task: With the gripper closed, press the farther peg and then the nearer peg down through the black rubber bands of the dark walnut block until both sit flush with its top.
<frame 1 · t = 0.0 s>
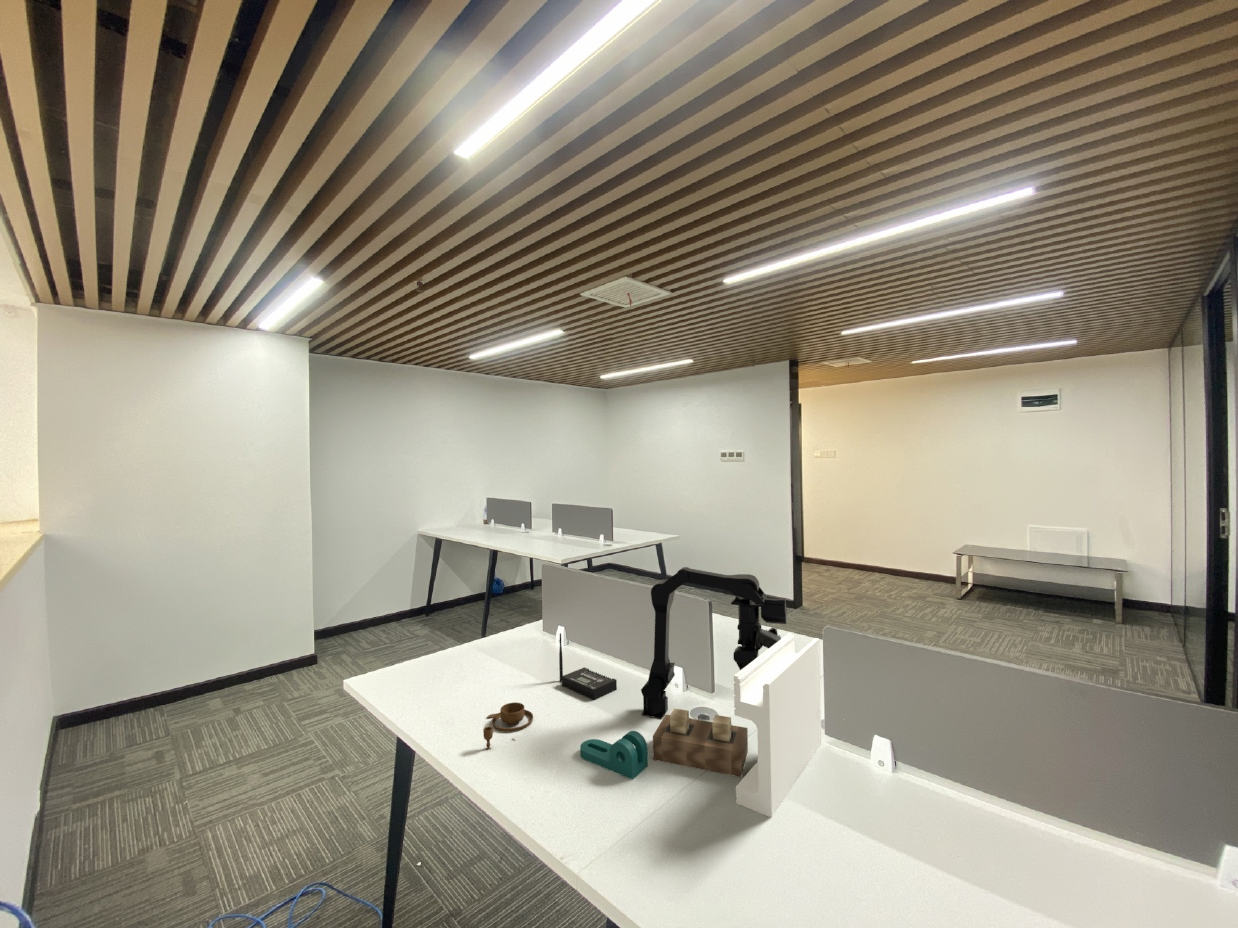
hand: (749, 676, 144), 15 cm above the table, tool pointing down, fingers open, 9 cm apart
wireless controller: (585, 688, 174), on the table
band block: (701, 755, 131), on the table
bracket: (610, 762, 130), on the table
block: (782, 771, 124), on the table
place setting: (501, 730, 147), on the table
peg 2: (722, 730, 129), point 7 cm above the table, slide at 4.0 cm
peg 1: (679, 723, 133), point 7 cm above the table, slide at 4.0 cm
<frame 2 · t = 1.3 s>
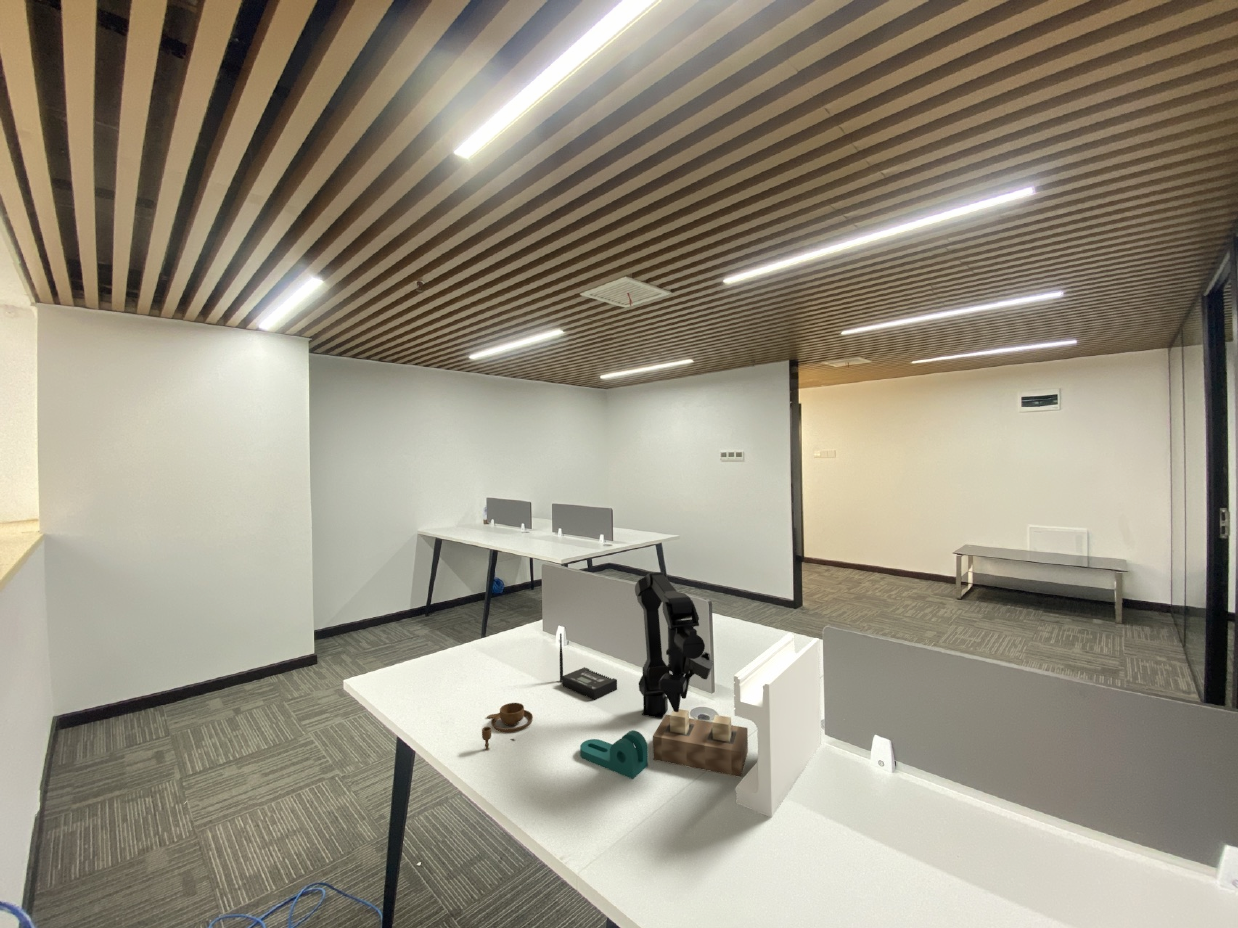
hand: (680, 704, 134), 12 cm above the table, tool pointing down, fingers open, 8 cm apart
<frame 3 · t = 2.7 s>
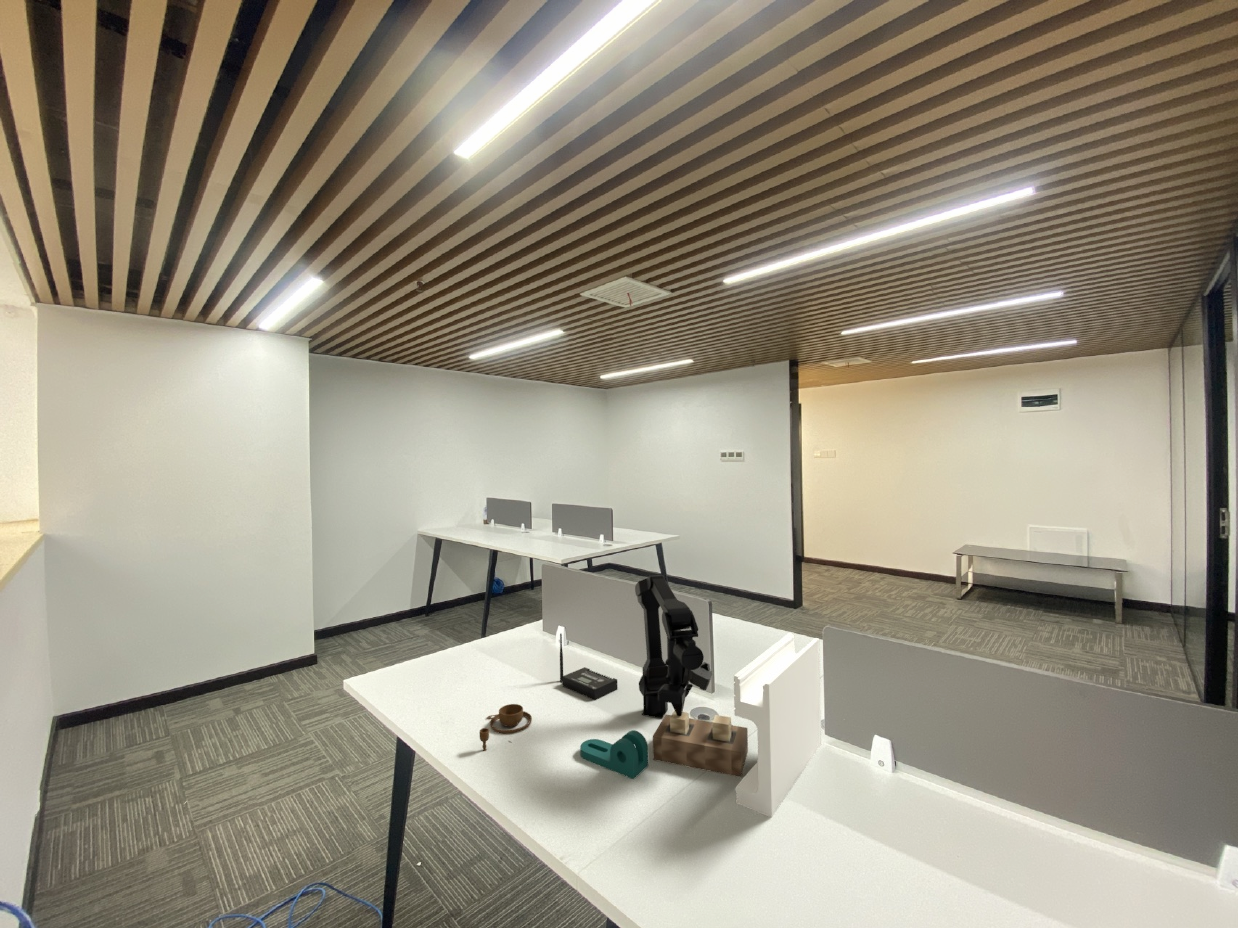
hand: (679, 715, 133), 9 cm above the table, tool pointing down, fingers closed, pressing on peg 1
peg 1: (679, 726, 133), point 7 cm above the table, slide at 3.4 cm, touching gripper
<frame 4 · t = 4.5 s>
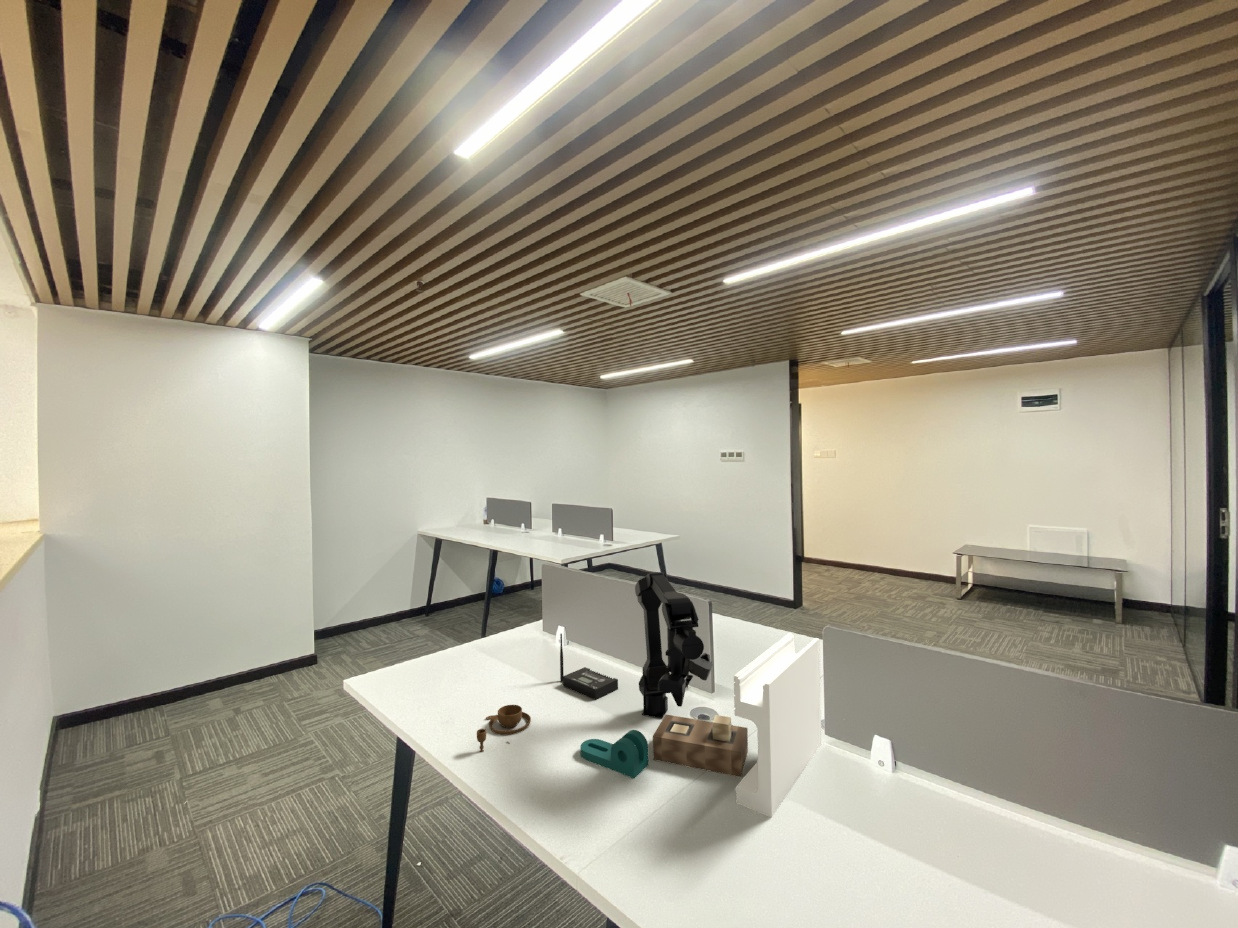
hand: (679, 705, 133), 12 cm above the table, tool pointing down, fingers closed
peg 1: (680, 739, 133), point 3 cm above the table, slide at -0.1 cm
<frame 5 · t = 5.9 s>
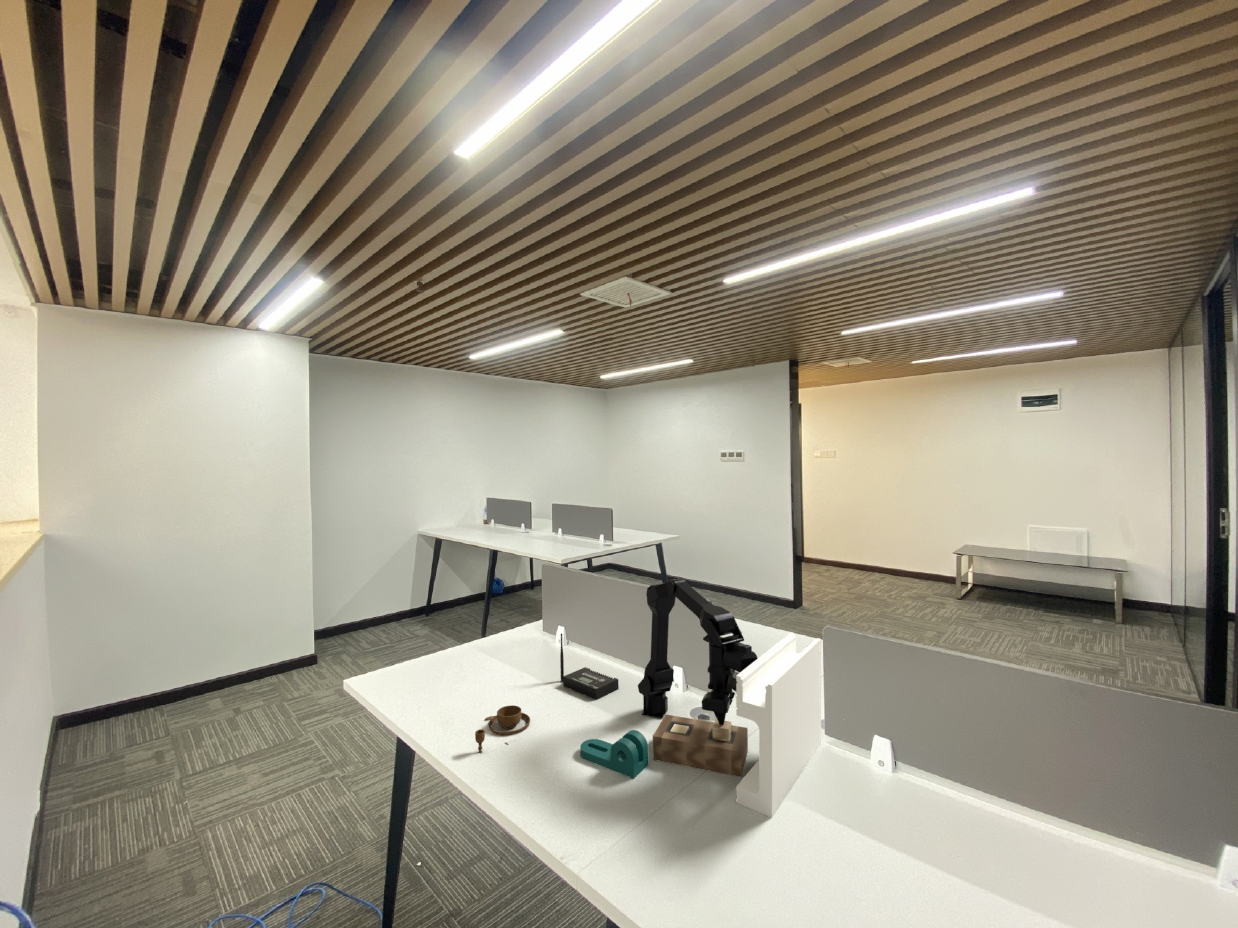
hand: (721, 724, 129), 9 cm above the table, tool pointing down, fingers closed, pressing on peg 2
peg 2: (722, 735, 129), point 6 cm above the table, slide at 2.9 cm, touching gripper
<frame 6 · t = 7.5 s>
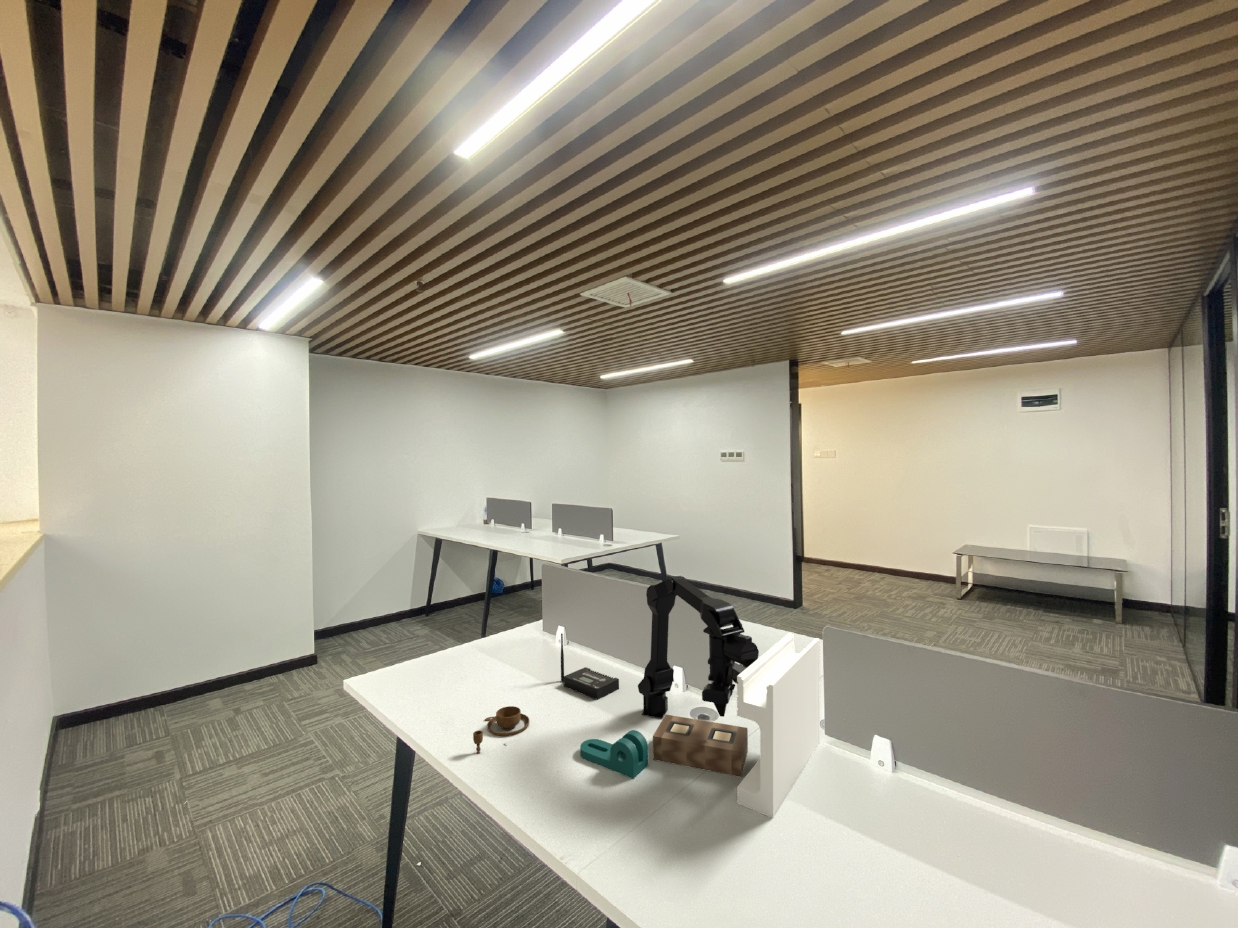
hand: (722, 715, 129), 11 cm above the table, tool pointing down, fingers closed
peg 2: (722, 747, 129), point 3 cm above the table, slide at -0.1 cm
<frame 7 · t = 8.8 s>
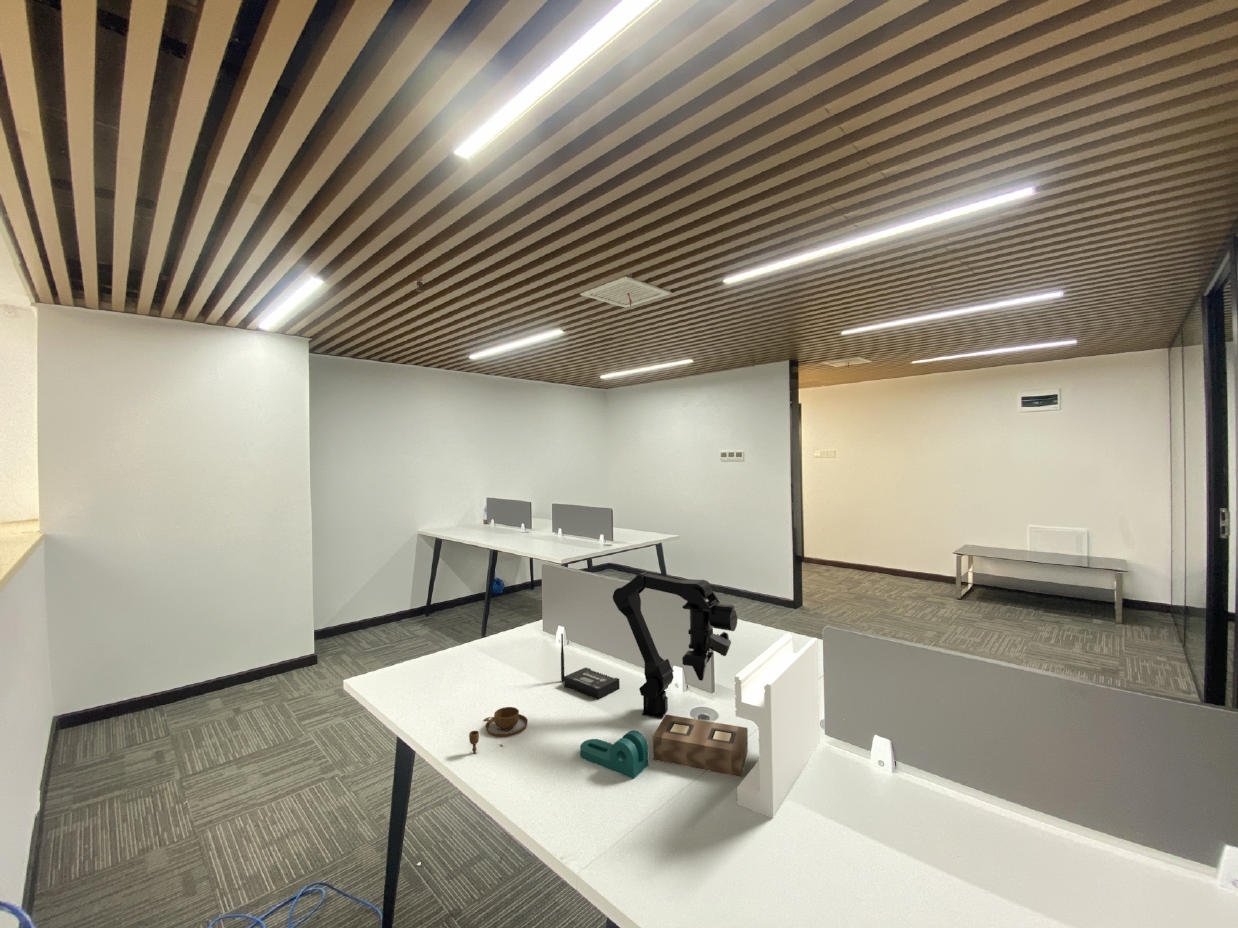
hand: (701, 679, 146), 13 cm above the table, tool pointing down, fingers closed
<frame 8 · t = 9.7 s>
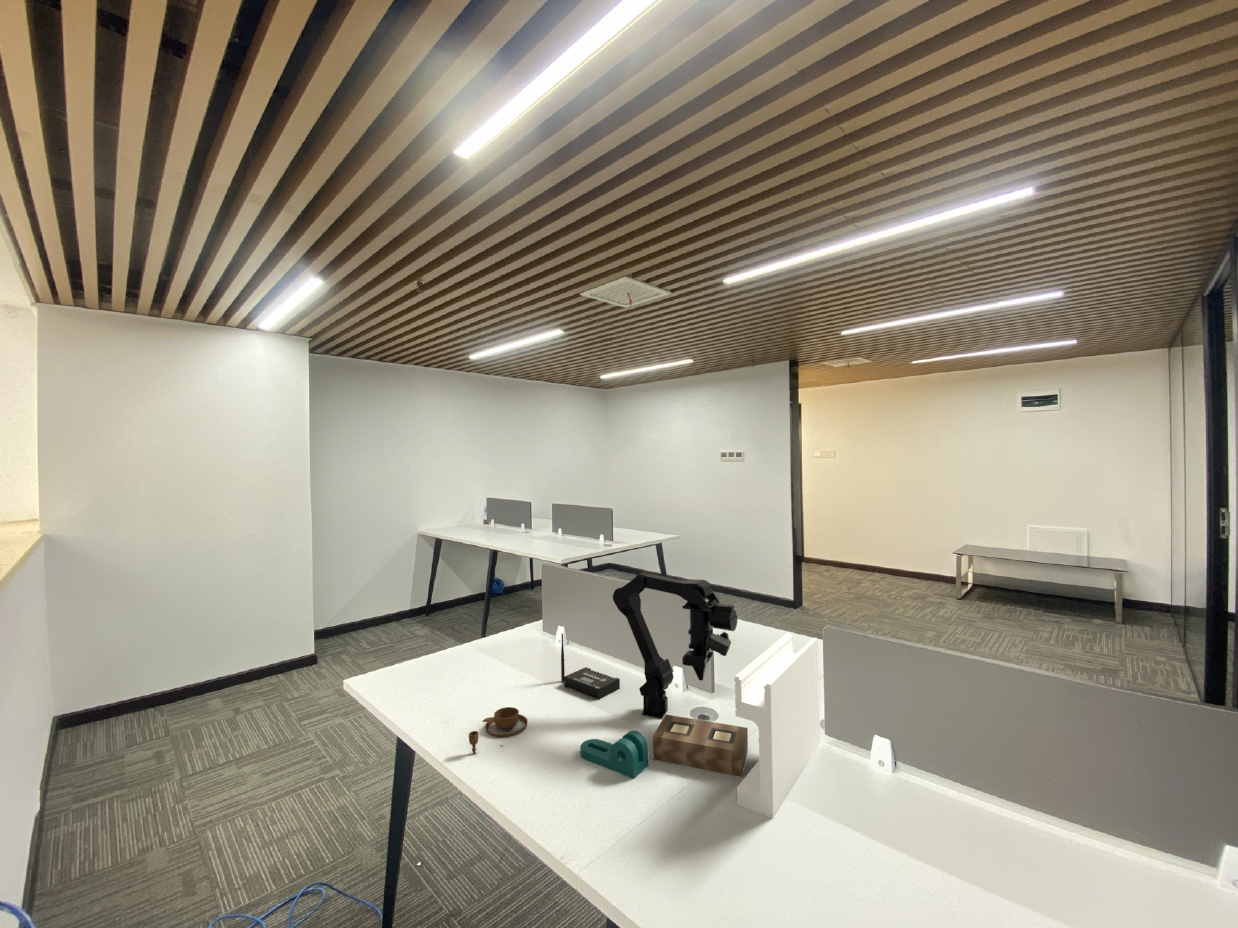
hand: (701, 679, 147), 13 cm above the table, tool pointing down, fingers closed
at the end: peg 1 slide at -0.1 cm; peg 2 slide at -0.1 cm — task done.
